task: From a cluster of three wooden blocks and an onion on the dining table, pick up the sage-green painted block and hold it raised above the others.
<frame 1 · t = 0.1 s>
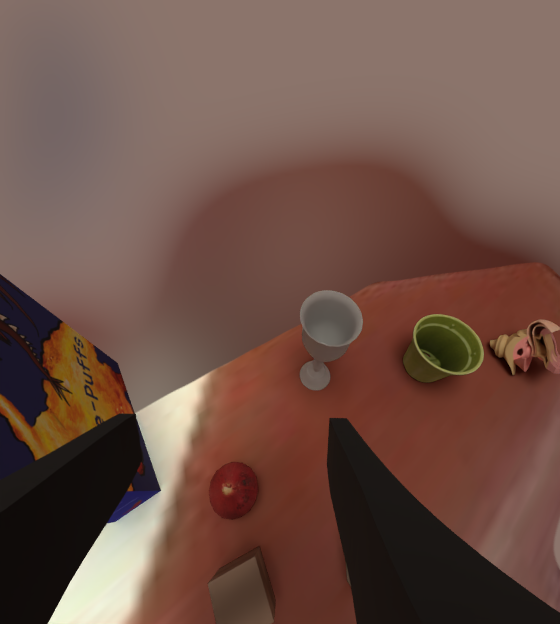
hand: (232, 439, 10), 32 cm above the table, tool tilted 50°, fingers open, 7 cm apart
plant pot: (421, 366, 45), on the table
onion: (238, 489, 36), on the table
cereal box: (117, 430, 40), on the table
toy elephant: (517, 356, 46), on the table
chalice: (314, 375, 44), on the table
walnut block: (247, 583, 31), on the table
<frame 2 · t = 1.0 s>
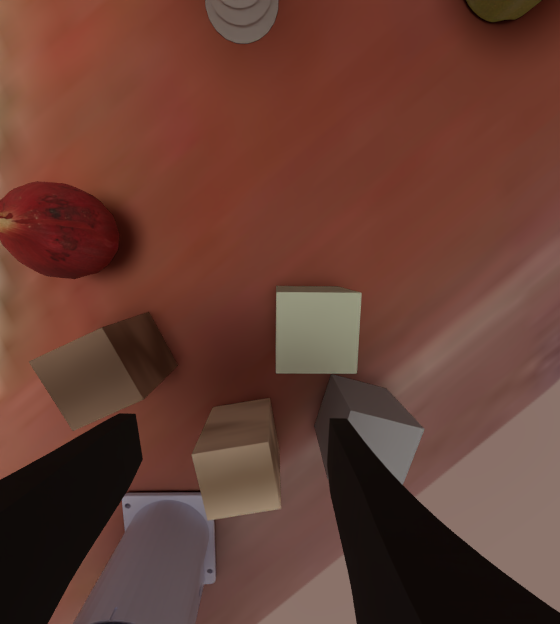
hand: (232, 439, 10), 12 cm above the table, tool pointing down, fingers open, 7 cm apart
onion: (103, 239, 21), on the table
slate block: (349, 407, 23), on the table
sage block: (306, 316, 22), on the table
maple block: (246, 428, 23), on the table
chalice: (242, 4, 19), on the table
walnut block: (137, 351, 22), on the table
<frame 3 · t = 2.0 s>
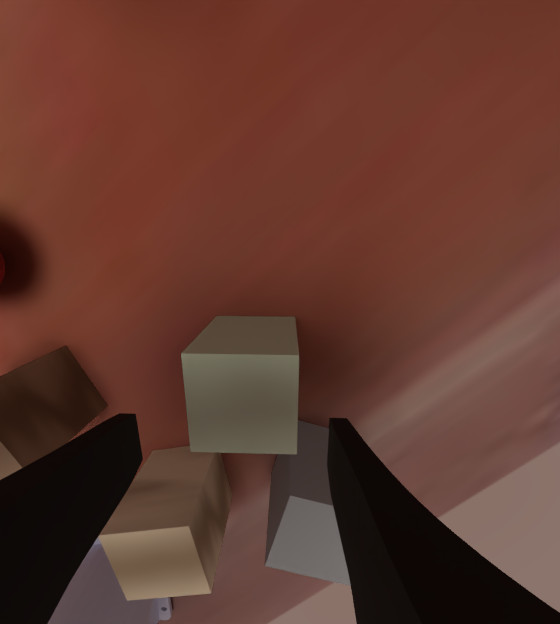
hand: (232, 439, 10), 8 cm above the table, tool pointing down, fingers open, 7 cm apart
slate block: (313, 454, 20), on the table
sage block: (256, 352, 18), on the table
maple block: (193, 473, 20), on the table
walnut block: (59, 389, 19), on the table
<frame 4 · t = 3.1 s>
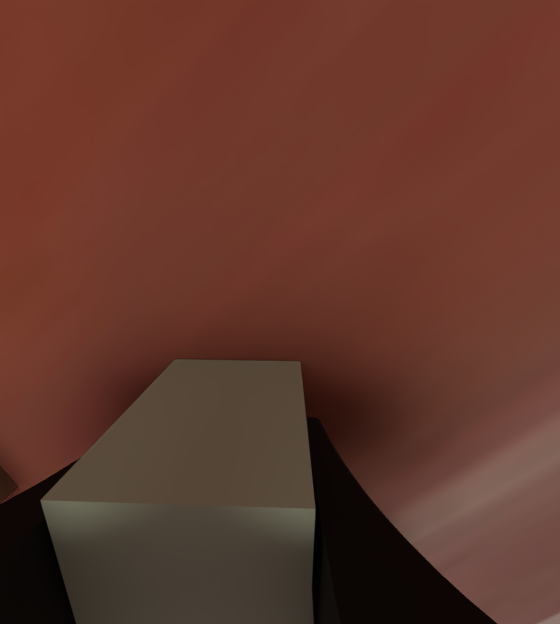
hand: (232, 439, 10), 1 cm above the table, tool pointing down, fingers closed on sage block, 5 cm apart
sage block: (239, 414, 11), on the table, touching gripper
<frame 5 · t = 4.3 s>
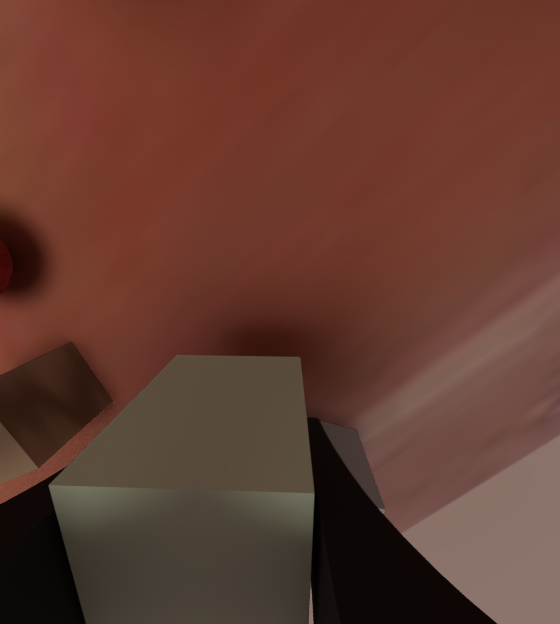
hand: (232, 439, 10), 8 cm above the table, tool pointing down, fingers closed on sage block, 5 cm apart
onion: (7, 256, 17), on the table
slate block: (313, 448, 20), on the table
sage block: (240, 410, 11), point 7 cm above the table, touching gripper
walnut block: (64, 384, 19), on the table
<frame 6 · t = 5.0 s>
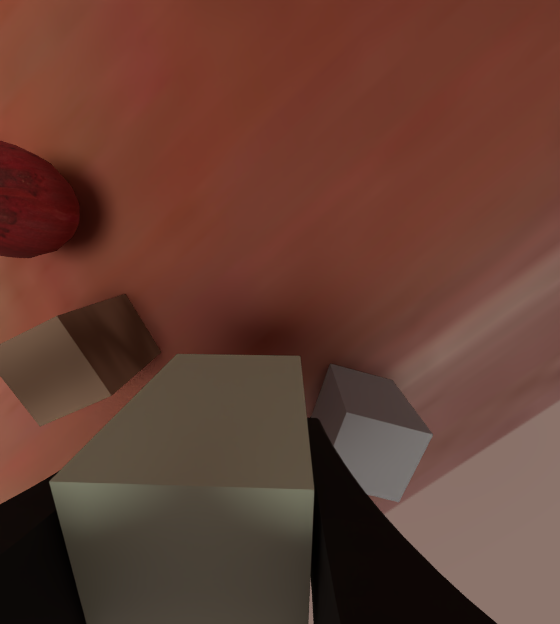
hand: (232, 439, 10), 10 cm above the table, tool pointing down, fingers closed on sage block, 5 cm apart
onion: (68, 210, 18), on the table
slate block: (350, 399, 21), on the table
sage block: (240, 409, 11), point 9 cm above the table, touching gripper
walnut block: (116, 336, 20), on the table
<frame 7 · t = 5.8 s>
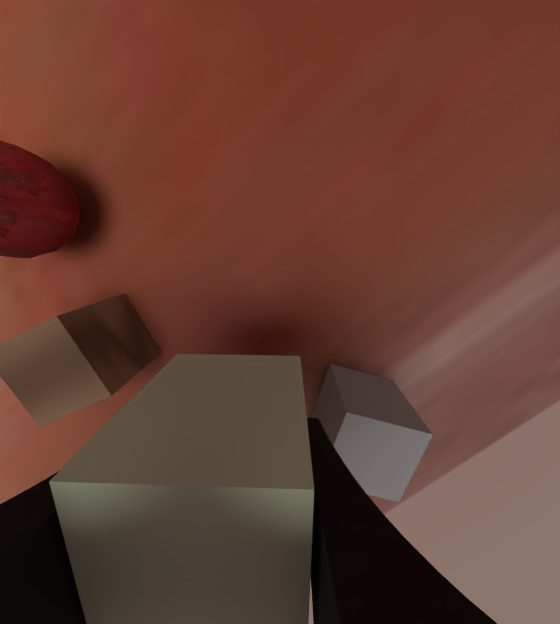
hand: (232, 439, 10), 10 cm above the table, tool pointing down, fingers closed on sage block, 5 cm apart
onion: (68, 210, 18), on the table
slate block: (350, 399, 21), on the table
sage block: (240, 409, 11), point 9 cm above the table, touching gripper
walnut block: (116, 336, 20), on the table
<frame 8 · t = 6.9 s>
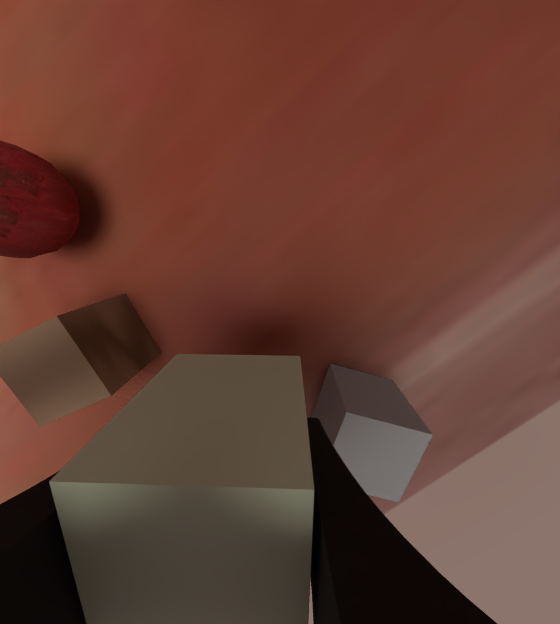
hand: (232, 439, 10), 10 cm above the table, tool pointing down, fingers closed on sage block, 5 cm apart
onion: (68, 210, 18), on the table
slate block: (350, 399, 21), on the table
sage block: (240, 409, 11), point 9 cm above the table, touching gripper
walnut block: (116, 336, 20), on the table
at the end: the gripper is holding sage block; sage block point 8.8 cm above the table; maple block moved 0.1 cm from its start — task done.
